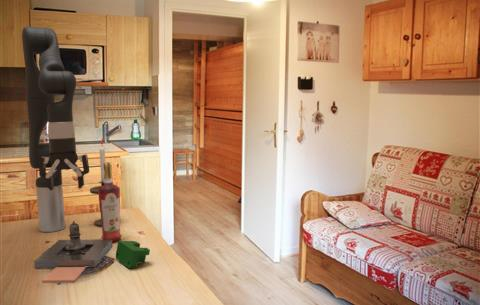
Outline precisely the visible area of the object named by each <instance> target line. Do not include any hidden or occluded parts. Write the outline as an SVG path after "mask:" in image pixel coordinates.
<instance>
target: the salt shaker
mask: <svg viewBox="0 0 480 305" xmlns="http://www.w3.org/2000/svg"><path fill="white" fill-rule="evenodd" d="M68 228H69V234H68V237H69V240H70V244H69V245H67V246H66V249H67V253H68V255H80V254H84V253H83V251H84V247H85V244H83V243H81V241H80V240H81V235H82V234H81V233H80V225H79V223H76V221H75V220H73V221H72V223H71V224H70V225H69V227H68Z"/></svg>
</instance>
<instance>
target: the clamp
mask: <svg viewBox="0 0 480 305" xmlns="http://www.w3.org/2000/svg"><path fill="white" fill-rule="evenodd" d="M115 250H116V251H115V259H116V260H117V261H119V263H121V264H122V265H124V266H125V267H126V268H128V269H136V268H137V267H138V264H143V263H144V264H145V262H146V257H147V256H149V255H150V251H151V249H150V248H147V247H141V243H140V242H139V241H136V240H135V241H134V240H118V241H117V245H116V249H115Z"/></svg>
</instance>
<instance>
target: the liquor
mask: <svg viewBox="0 0 480 305" xmlns="http://www.w3.org/2000/svg"><path fill="white" fill-rule="evenodd" d="M112 166H113V165H112V162H111V161H109V162H106V161H105V163H104V171H105V174H104V185H103V186H101V185H100V186H101V187H100V188H99V189H98V194H97V195H98V205H99V212H100V219H101V223H102V227H101V233H102V235H101V239H112V243H115V242H118V241H120V239H121V237H122V234H121V225H120V223H121V220H120V218H121V215H120V212H121V210H120V207H121V206H120V205H121V194H120V191H121V189H120V188H121V187H119V186H118V185H117V184H114V181H113V174H112V169H113V168H112Z"/></svg>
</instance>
